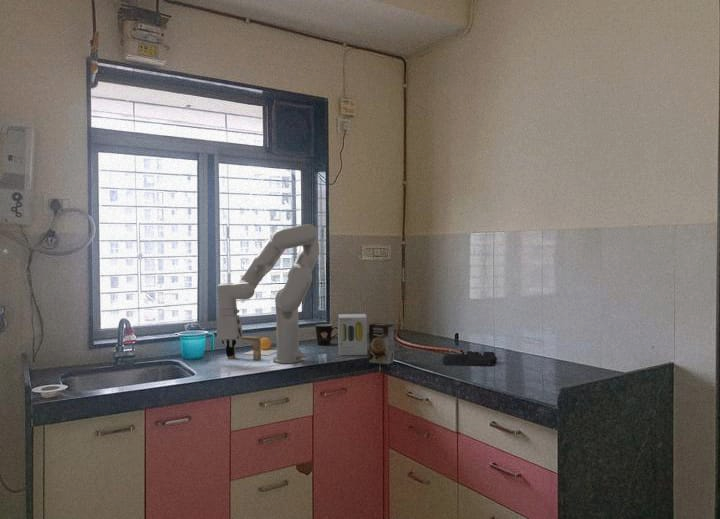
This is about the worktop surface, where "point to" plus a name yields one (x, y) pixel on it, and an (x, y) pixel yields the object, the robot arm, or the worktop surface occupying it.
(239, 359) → the worktop surface
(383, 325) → the coffee box
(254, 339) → the bridge
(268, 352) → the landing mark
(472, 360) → the dark slate chunk
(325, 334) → the coffee mug
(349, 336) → the supplement box
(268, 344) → the ball
